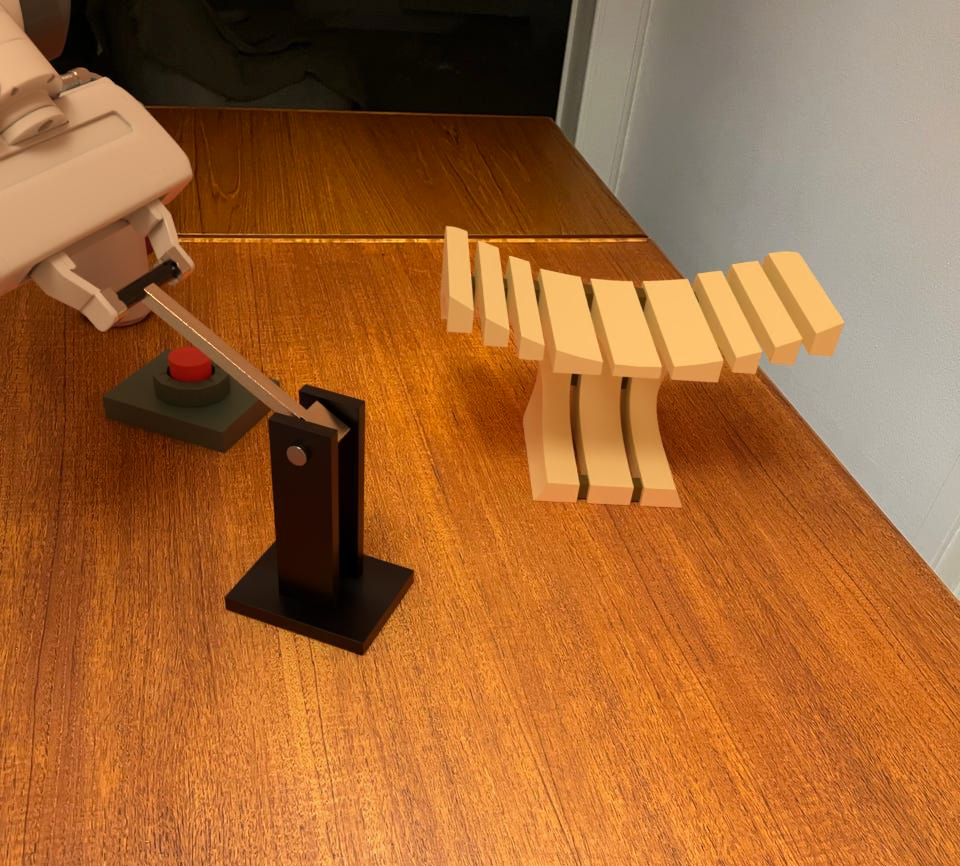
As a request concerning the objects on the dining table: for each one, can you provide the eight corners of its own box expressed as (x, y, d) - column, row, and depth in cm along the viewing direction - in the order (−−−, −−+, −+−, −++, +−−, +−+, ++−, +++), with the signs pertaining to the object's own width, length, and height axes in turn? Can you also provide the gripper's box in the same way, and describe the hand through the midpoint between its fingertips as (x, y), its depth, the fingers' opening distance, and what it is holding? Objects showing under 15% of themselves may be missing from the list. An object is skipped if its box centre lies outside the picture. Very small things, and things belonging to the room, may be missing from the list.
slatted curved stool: (735, 416, 100) (789, 237, 88) (776, 512, 88) (844, 322, 76) (433, 398, 97) (445, 211, 85) (435, 495, 86) (449, 295, 73)
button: (162, 377, 89) (159, 359, 87) (185, 360, 91) (182, 342, 90) (198, 388, 88) (195, 370, 87) (219, 370, 90) (218, 352, 89)
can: (170, 311, 105) (155, 193, 97) (117, 337, 100) (97, 215, 92) (117, 290, 107) (98, 173, 99) (62, 314, 103) (38, 194, 94)
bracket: (225, 609, 73) (203, 419, 62) (285, 541, 79) (275, 358, 69) (362, 656, 71) (365, 467, 60) (413, 581, 77) (424, 399, 66)
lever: (99, 313, 62) (110, 285, 60) (155, 277, 66) (167, 250, 64) (305, 481, 64) (321, 459, 63) (347, 437, 69) (363, 414, 67)
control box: (106, 418, 90) (98, 377, 87) (169, 369, 97) (164, 330, 94) (224, 454, 87) (220, 413, 85) (280, 401, 94) (278, 362, 92)
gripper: (71, 93, 68) (212, 267, 73) (-173, 184, 54) (22, 393, 58) (117, 29, 64) (263, 218, 69) (-133, 110, 50) (73, 341, 54)
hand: (151, 299), depth 63 cm, fingers closed on lever, 6 cm apart
